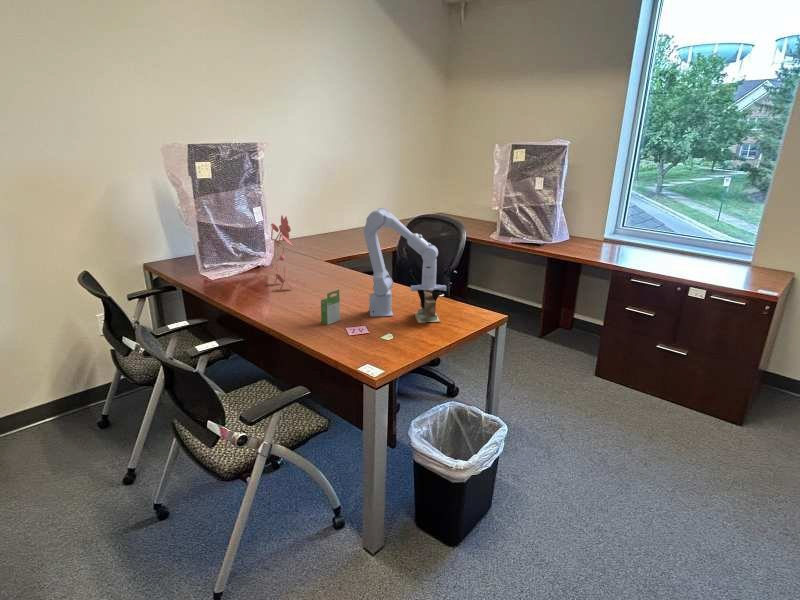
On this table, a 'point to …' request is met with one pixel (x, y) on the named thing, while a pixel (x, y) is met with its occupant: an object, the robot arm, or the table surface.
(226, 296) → the table surface
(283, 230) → the figurine
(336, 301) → the ink box
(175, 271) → the table surface
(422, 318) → the rail stand
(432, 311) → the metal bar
